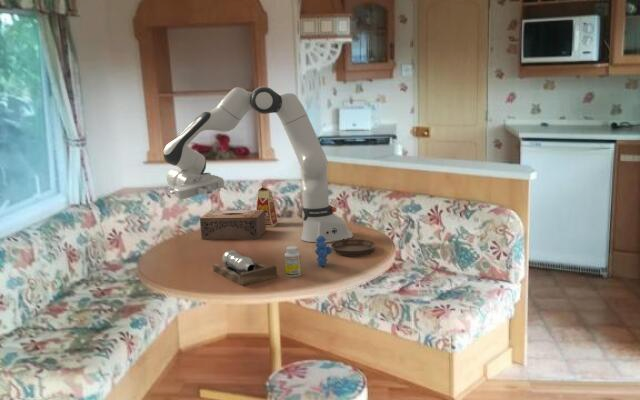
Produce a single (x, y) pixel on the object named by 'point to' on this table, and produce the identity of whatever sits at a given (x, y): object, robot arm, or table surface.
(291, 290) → the table surface
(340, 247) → the plant saucer
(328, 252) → the grapes
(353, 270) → the table surface
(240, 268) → the silver ridged container
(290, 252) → the supplement bottle
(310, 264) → the table surface
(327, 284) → the table surface
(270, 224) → the milk carton
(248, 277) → the wooden tray
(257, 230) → the tissue box cover
